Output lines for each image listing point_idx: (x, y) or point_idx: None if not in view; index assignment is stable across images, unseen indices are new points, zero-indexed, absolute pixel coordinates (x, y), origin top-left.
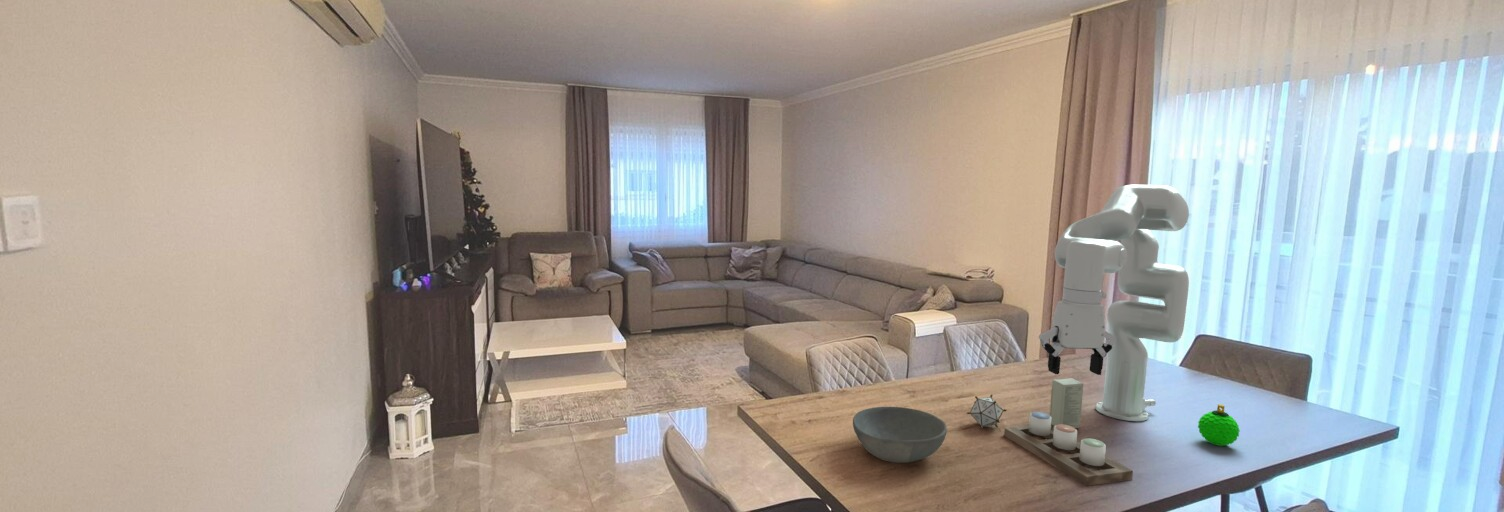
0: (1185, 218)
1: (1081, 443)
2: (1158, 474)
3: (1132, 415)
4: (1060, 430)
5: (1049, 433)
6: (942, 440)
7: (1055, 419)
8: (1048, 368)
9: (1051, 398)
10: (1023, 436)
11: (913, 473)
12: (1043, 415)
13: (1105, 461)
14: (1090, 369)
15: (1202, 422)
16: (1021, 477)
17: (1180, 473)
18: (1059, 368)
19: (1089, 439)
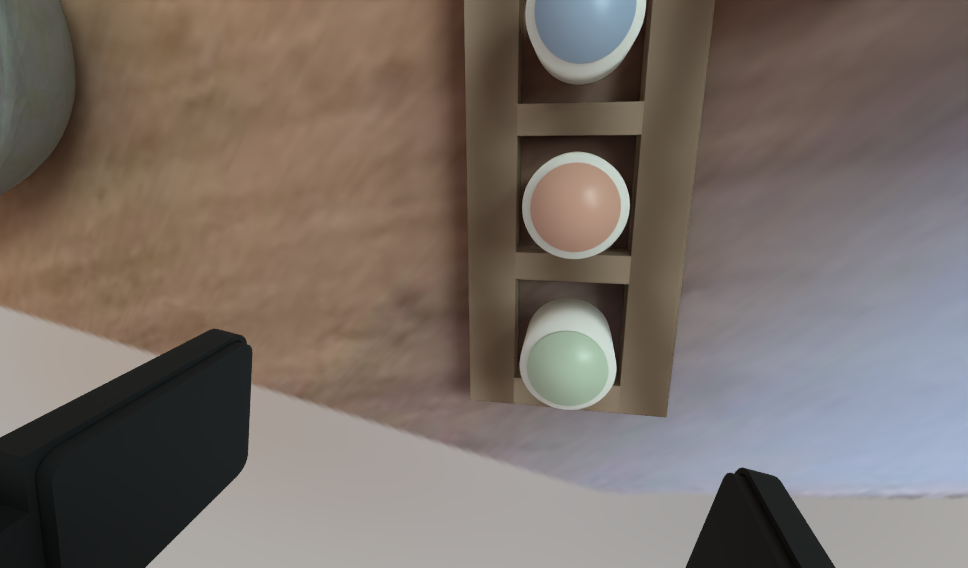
0: None
1: (525, 343)
2: (799, 401)
3: None
4: (532, 218)
5: (602, 77)
6: (7, 184)
7: None
8: (208, 331)
9: None
10: (483, 50)
11: (31, 186)
12: (594, 20)
13: (633, 339)
14: (729, 494)
15: None
16: (319, 289)
17: (896, 420)
18: (201, 509)
19: (573, 345)
